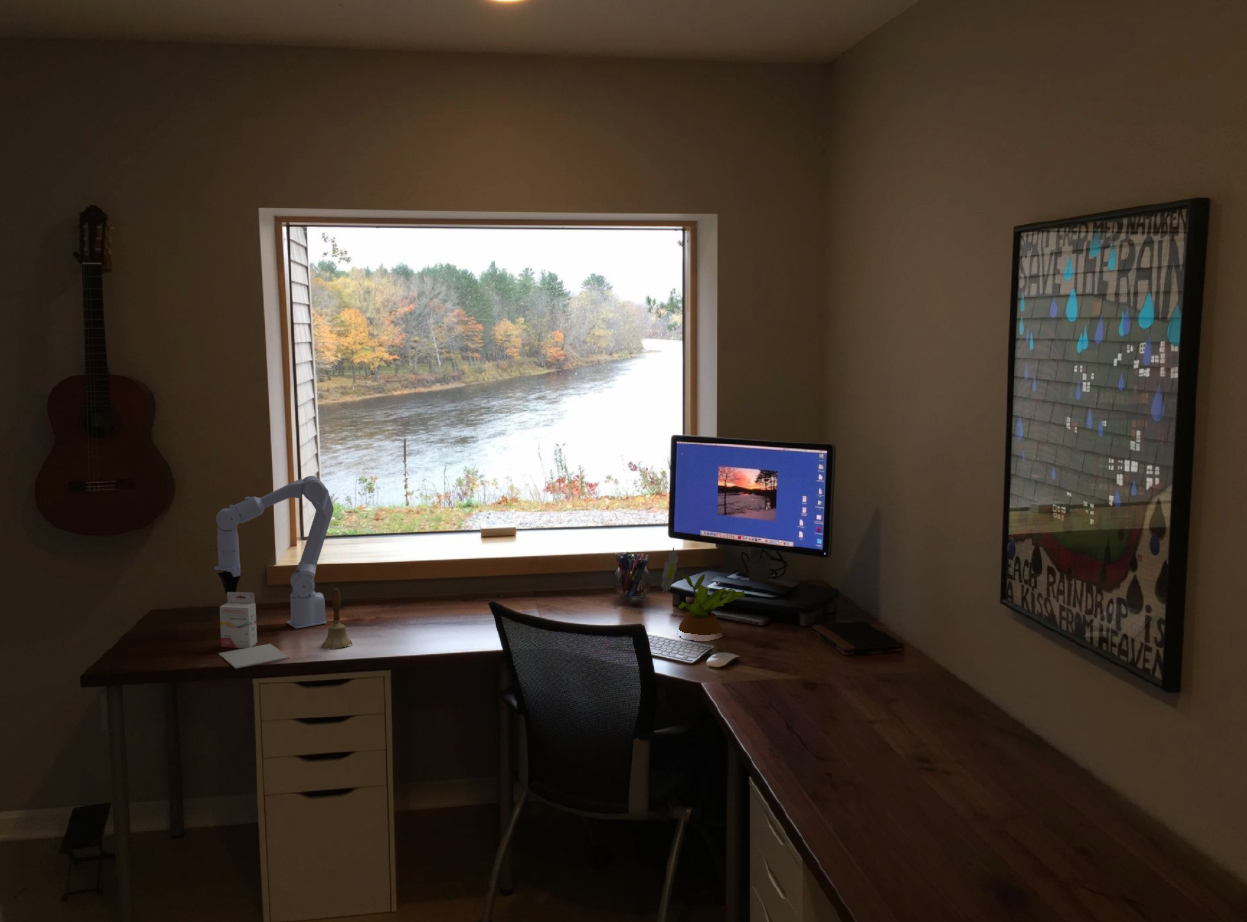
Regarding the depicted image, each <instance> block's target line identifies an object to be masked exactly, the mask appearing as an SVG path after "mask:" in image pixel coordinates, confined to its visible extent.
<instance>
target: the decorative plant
mask: <svg viewBox="0 0 1247 922" xmlns="http://www.w3.org/2000/svg"><path fill="white" fill-rule="evenodd" d="M678 560H679V556H678V550H675V547H672V551H670V552H669V555H668V558H667V561H664V565H663V566H664V568H663V573H662V575H661V577H662V580H661V582H662V584H661V587H660V588H662V589H663V590H662V593H664V592H665V594H667V592H668V590H669V591H671V587H672V583H673V581H674V578H675V573H676V574H677V575H679V576H682V577H683V578H684V579H685V580H686V582H687V584H688V586H689V587H690V588H692V590H693V593H694V596H695V598H694V601H693V603H688V602H687V603H685V602H684V601H681V603H680V604H679V605H678V609H681V610H682V609H683V608H684V607H685V608H686V609H687V610H688V611H687V612H686V613H685V614H684V618H682V620H681V621H680V623H679V625H678V629H679V630H680V631H682V632H684V633H691V634H698V635H711V634H717V633H721V632H723V628H722V624H721V622H720V621H719V620H718V619H717V614H716V613H714V612H713V611H714V610H716V609H717V608H718V607H724V606H725V605H724V604H726V603H727V604H728V603H731V602H733V601H735V600H737V599H739V598H740V599H742V598H744V596H746V595H745V592H746V591H745V589H744V590H742V591H736V590H735V589H733V588H732V587H730V588H729V589H727V587H722V588H720V589H716V590H714V591H713V592H712V593H711V594H710V595H709V596H708V593H709V587H706V586H704V585H703V581H704V580H705V577H706V575H705V574H701V576H700V577H699V578H698V579H697V580H696V581H695V583H694V585H693V581H692V579H691V577H690V576H689V575H688V574H686V575H683V574H682V573H679V572H677V563H678Z"/></svg>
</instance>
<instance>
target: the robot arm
mask: <svg viewBox="0 0 1247 922" xmlns="http://www.w3.org/2000/svg"><path fill="white" fill-rule="evenodd" d="M302 495H303V496H304V497H305V499H306V500H308V502H310V503H311V505H312V506H313V507H314V509H315V513H314V516H313V519H312V522H311V525H310V529H309V532H308V536H307V539H306V542H305V545H304V548H303V551H302V554H301V558H300V560H299V563H298V564H297V566H296V570H295V571H293V573H292V574H291V575H290V581H289V583H290V585H291V587H292V591H291V592H290V595H289V598H290V599H289V600H290V618H291V619H290V620H287V621H286V624H288V625H290V626H291V627H293V628H294V629H302V628H306V627H307V628H308V627H312V626H318V625H323V624H324V625H325V624H327V621H326V603H325V597H324V594H323V593H322V592H316V591H315V587H316V583H315V577H316V571H317V565H318V562H319V559H320V557H321V556H320V555H321V552H322V550H323V546H324V541H325V539H326V536H327V532H328V530H329V527H330V524H331V523H330V522H331V521H332V520H331V519H332V517H333V514H334V506H333V502H332V499H331V495H330V492H329V490H328V488H327V487H326V486H325V484H324V483H323V482H322V481H321V479H320V478H318V477H317V476H315V475H307V476H306V477H304V478H299V479H296V480H294V481H292V482H290V483H288V484H286V485H284V486H282V487H280V488H278V489H276V490H274V491H272V492H270V493H268V494H266V495H264V496H262V497H257V496H251V497H250V495H248V496H246V497H244V500H243V501H240V502H238V503H236V504H234V505H233V504H230V505H229V506H228V508H222V509H220V510H219V511H218V512H217V513H216V517H215V522H216V524H217V529H216V532H217V537H216V539H217V540H216V541H217V557H218V565H216V566H214V568H213V569H214V570H215V571H218V570H220V571H222V572H218V573H217V575H218V577H219V578H220V581H221V582H222V586H223V588H224V589H223V590H224V592H225V597H227V592H237V588H238V584H239V581H240V579H241V577H242V573H241V565H242V564H241V562H240V546H239V545H240V543H239V542H240V540H239V533H238V525H239V524H244V523H246V522H249V521H251V520H252V519H255V518H257V517H259V516H261V515H263V513H264V511H265V509H266V508H269V507H271V506H273V505H276V504H279V503H281V502H283V501H285V500H288V499H290V498H294V499H295V498H296V499H300V500H301V499H303V496H302Z"/></svg>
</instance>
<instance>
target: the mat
mask: <svg viewBox="0 0 1247 922" xmlns="http://www.w3.org/2000/svg"><path fill="white" fill-rule="evenodd" d="M218 655H219V657H220V658H222V657H223V658H224V661H226V662H227V663H228V664H230V666H231V667H233V668H234V669H236V670H237V669H241V668H242V669H243V668H246V667H251V666H258V665H261V664H267V663H271V662H272V663H273V662H277V661H283V660H284V661H285V660H288V659H290V657H289V655H286V653H284V652H283V651H282V650H280V649H279V648H277V647H276V646H274V645H273V644H272V643H267V644H262V645H254V646H252V647H250V648H238V649H233V650H229V651H223V652H219V653H218ZM223 658H222V659H223Z"/></svg>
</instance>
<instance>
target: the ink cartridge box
mask: <svg viewBox="0 0 1247 922" xmlns="http://www.w3.org/2000/svg"><path fill="white" fill-rule="evenodd" d="M240 596H241V597H244V598H240ZM226 599H227V602H226V603H224V604H222V605H220V606H219V623H220V624H219V626H220V627H219V628H220V629H219V630H220V644H221V645H220V646H221V648H232V649H234V648H235V649H236V648H237V649H244V648H250V647H255V646H256V645H257V644H258V633H257V629H258V628H257V613H256V611H257V607H256V606H257V605H256V602H255V599H256V598H255V593H254V592H243V591H242V592H240V591H236V592H227V596H226ZM256 643H257V644H256Z"/></svg>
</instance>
